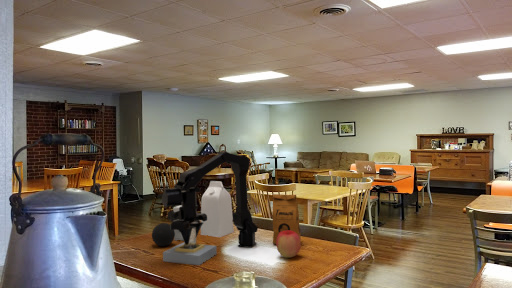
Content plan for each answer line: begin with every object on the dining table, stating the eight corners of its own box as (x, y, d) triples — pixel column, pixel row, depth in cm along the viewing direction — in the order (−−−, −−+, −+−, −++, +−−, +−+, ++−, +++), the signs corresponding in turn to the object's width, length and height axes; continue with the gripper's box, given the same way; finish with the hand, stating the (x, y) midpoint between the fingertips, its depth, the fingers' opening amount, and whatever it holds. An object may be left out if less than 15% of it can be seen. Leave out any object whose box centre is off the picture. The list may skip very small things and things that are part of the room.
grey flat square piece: (216, 254, 155) (216, 243, 155) (199, 265, 142) (199, 253, 142) (182, 251, 161) (182, 240, 161) (163, 261, 148) (162, 249, 148)
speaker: (170, 241, 177) (169, 220, 177) (178, 246, 169) (177, 223, 168) (149, 245, 172) (148, 223, 172) (156, 250, 163) (155, 227, 163)
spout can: (198, 249, 153) (198, 226, 153) (192, 252, 148) (191, 229, 148) (183, 247, 155) (182, 225, 155) (177, 251, 151) (176, 228, 151)
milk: (233, 232, 192) (232, 180, 192) (219, 237, 182) (218, 183, 182) (214, 229, 199) (213, 179, 198) (200, 234, 189) (199, 182, 189)
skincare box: (186, 241, 177) (185, 207, 177) (173, 240, 178) (172, 207, 178) (193, 236, 185) (192, 204, 185) (180, 236, 186) (179, 204, 186)
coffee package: (297, 248, 161) (296, 196, 161) (270, 245, 166) (268, 195, 165) (303, 242, 170) (302, 193, 170) (277, 240, 175) (275, 192, 175)
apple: (272, 255, 152) (271, 230, 152) (294, 252, 155) (293, 227, 155) (282, 262, 143) (282, 235, 143) (305, 258, 146) (304, 232, 146)
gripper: (184, 199, 163) (185, 235, 163) (158, 206, 145) (159, 247, 146) (207, 200, 159) (208, 237, 159) (183, 208, 141) (184, 250, 141)
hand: (190, 242), depth 151 cm, fingers closed on spout can, 5 cm apart
